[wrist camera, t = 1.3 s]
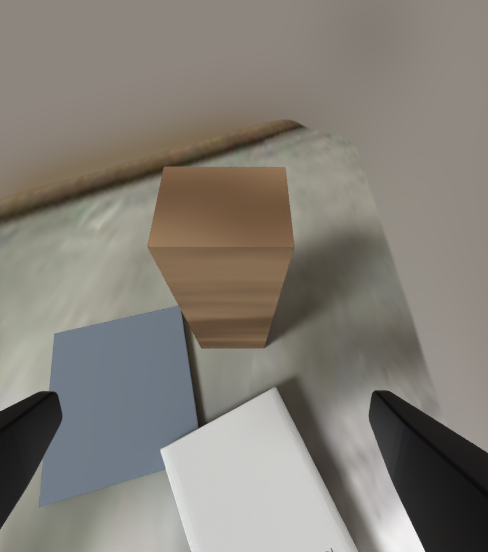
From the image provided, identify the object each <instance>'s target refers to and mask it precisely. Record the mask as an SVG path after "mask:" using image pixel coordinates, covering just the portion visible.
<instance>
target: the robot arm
mask: <svg viewBox="0 0 488 552" xmlns="http://www.w3.org/2000/svg"><path fill="white" fill-rule="evenodd" d="M62 417H63V414H62V409H61V405H60V401H59V396H58V394H57V393H56V392H54V391H41V392H38V393H36V394H34V395H32V396H30V397H28V398H26V399H24V400H22V401H20V402H18V403H16V404H14V405H12V406H10V407H8V408H6V409H4V410H2V411H0V529H1V527H2V526H3V524H4V523H5V521H6V520H7V518H8V516H9V515H10V513H11V512H12V510H13V509H14V507H15V505H16V504H17V502H18V501H19V499H20V498H21V496H22V494H23V493H24V491H25V489H26V488H27V486H28V484H29V483H30V481H31V479H32V477H33V476H34V474H35V472H36V470H37V468H38V466H39V464H40V462H41V461H42V459H43V457H44V455H45V453H46V451H47V449H48V447H49V445H50V444H51V442H52V440H53V438H54V436H55V434H56V432H57V430H58V428H59V426H60V424H61V422H62ZM369 421H370V424H371V427H372V430H373V432H374V435H375V438H376V440H377V443H378V446H379V448H380V451H381V454H382V457H383V459H384V462H385V465H386V467H387V470H388V473H389V475H390V478H391V480H392V482H393V485H394V487H395V489H396V491H397V493H398V495H399V498H400V500H401V502H402V504H403V506H404V508H405V510H406V512H407V514H408V516H409V518H410V520H411V523H412V525H413V527H414V529H415V531H416V533H417V535H418V537H419V539H420V541H421V543H422V546H423V548H424V550H425V552H488V453H487V452H485V451H484V450H482V449H481V448H479V447H477V446H476V445H474V444H473V443H471V442H469V441H468V440H466V439H465V438H463V437H462V436H460V435H458V434H457V433H455V432H454V431H452V430H450V429H449V428H447V427H446V426H444V425H443V424H441V423H439V422H438V421H436V420H435V419H433V418H431V417H430V416H428V415H427V414H425V413H423V412H422V411H420V410H419V409H417V408H415V407H414V406H412V405H411V404H409V403H408V402H406V401H404V400H403V399H401V398H400V397H398V396H396V395H395V394H393V393H392V392H390V391H386V390H381V391H374V392H373V393H372V397H371V403H370V409H369Z"/></svg>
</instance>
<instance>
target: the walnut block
mask: <svg viewBox="0 0 488 552" xmlns="http://www.w3.org/2000/svg"><path fill="white" fill-rule="evenodd" d="M147 247H148V249H149V251H150V253H151V254H152V256H153V258H154V260H155V262H156V264H157V266H158V268H159V269H160V271H161V273H162V275H163V277H164V279H165V281H166V283H167V285H168V286H169V288H170V290H171V292H172V294H173V296H174V298H175V300H176V301H177V303H178V305H179V307H180V309H181V311H182V313H183V315H184V316H185V318H186V320H187V322H188V324H189V326H190V328H191V330H192V332H193V333H194V335H195V337H196V339H197V341H198V343H199V345H200V347H201V348H264V347H265V344H266V340H267V337H268V334H269V330H270V327H271V324H272V320H273V317H274V314H275V310H276V307H277V304H278V300H279V297H280V294H281V290H282V287H283V284H284V280H285V277H286V273H287V270H288V267H289V263H290V260H291V257H292V253H293V250H294V239H293V230H292V221H291V213H290V204H289V195H288V186H287V178H286V169H285V167H164V169H163V174H162V179H161V183H160V188H159V193H158V198H157V203H156V207H155V212H154V217H153V222H152V227H151V231H150V236H149V241H148V246H147Z"/></svg>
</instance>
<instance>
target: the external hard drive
mask: <svg viewBox="0 0 488 552" xmlns="http://www.w3.org/2000/svg"><path fill="white" fill-rule="evenodd" d="M160 451H161V455H162V458H163V461H164V464H165V468H166V471H167V474H168V478H169V481H170V484H171V487H172V491H173V494H174V497H175V500H176V503H177V507H178V510H179V513H180V517H181V520H182V523H183V526H184V530H185V533H186V536H187V539H188V543H189V546H190V549H191V552H358V550H357V548H356V545H355V543H354V541H353V539H352V537H351V535H350V534H349V532H348V530H347V527H346V525H345V523H344V521H343V519H342V518H341V516H340V514H339V512H338V510H337V508H336V506H335V503H334V502H333V500H332V498H331V496H330V494H329V491H328V489H327V488H326V486H325V484H324V482H323V479H322V478H321V476H320V474H319V472H318V470H317V468H316V466H315V464H314V462H313V460H312V458H311V456H310V454H309V452H308V450H307V448H306V446H305V444H304V442H303V440H302V438H301V436H300V434H299V432H298V430H297V428H296V426H295V424H294V422H293V420H292V418H291V416H290V414H289V412H288V410H287V408H286V406H285V404H284V402H283V400H282V398H281V396H280V394H279V392H278V390H277V388H276V387H273V388H271V389H270V390H268V391H266V392H264V393H262V394H261V395H259V396H257V397H255V398H253V399H251V400H250V401H248V402H246V403H244V404H242V405H241V406H239V407H237V408H235V409H233V410H231V411H230V412H228V413H226V414H224V415H222V416H220V417H219V418H217V419H215V420H213V421H211V422H209V423H208V424H206V425H204V426H202V427H200V428H198V429H197V430H195V431H193V432H191V433H189V434H188V435H186V436H184V437H182V438H180V439H178V440H176V441H175V442H173V443H171V444H169V445H167V446H165V447H164V448H162V449H161V450H160Z"/></svg>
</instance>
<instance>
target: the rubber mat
mask: <svg viewBox="0 0 488 552" xmlns="http://www.w3.org/2000/svg"><path fill="white" fill-rule="evenodd" d="M49 391H54V392H56V393H57V394H58V396H59V401H60V405H61V409H62V414H63V417H62V422H61V424H60V426H59V428H58V430H57V432H56V434H55V436H54V438H53V440H52V442H51V444H50V445H49V447H48V449H47V451H46V453H45V455H44V457H43V466H42V477H41V488H40V500H39V507H41V506H44V505H47V504H51V503H54V502H57V501H61V500H64V499H67V498H71V497H74V496H78V495H81V494H84V493H88V492H91V491H94V490H98V489H101V488H104V487H108V486H111V485H114V484H118V483H121V482H124V481H128V480H131V479H134V478H138V477H141V476H144V475H148V474H151V473H154V472H158V471H161V470H164V469H166V468H165V464H164V461H163V458H162V455H161V451H160V450H161V449H162V448H164V447H165V446H167V445H169V444H171V443H173V442H175V441H176V440H178V439H180V438H182V437H184V436H186V435H188V434H189V433H191V432H193V431H195V430H197V429H198V428H199V423H198V416H197V410H196V403H195V396H194V390H193V383H192V376H191V370H190V363H189V356H188V350H187V343H186V336H185V330H184V323H183V316H182V311H181V309H180V307H179V306H176V307H171V308H167V309H163V310H158V311H154V312H149V313H145V314H140V315H136V316H131V317H127V318H122V319H118V320H114V321H109V322H105V323H100V324H96V325H91V326H87V327H82V328H78V329H74V330H69V331H65V332H60V333H56V334H54V344H53V355H52V366H51V377H50V388H49Z"/></svg>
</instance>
